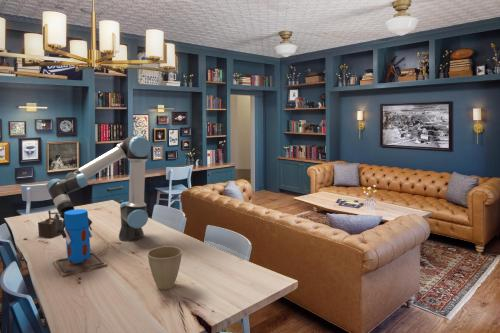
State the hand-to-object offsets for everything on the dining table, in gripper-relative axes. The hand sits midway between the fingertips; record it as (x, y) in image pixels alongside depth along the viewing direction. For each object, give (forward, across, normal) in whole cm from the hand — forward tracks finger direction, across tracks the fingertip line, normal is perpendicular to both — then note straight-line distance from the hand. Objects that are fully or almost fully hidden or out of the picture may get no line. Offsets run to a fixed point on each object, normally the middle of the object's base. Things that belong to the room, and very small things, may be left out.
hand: (80, 239), depth 188 cm
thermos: (+6, 0, -10) cm, 12 cm away
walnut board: (+8, 0, -12) cm, 15 cm away
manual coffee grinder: (-36, -16, -57) cm, 69 cm away
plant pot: (+47, -12, +26) cm, 55 cm away
